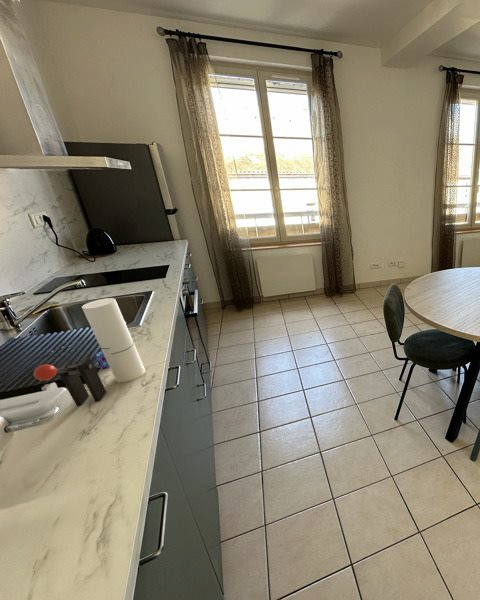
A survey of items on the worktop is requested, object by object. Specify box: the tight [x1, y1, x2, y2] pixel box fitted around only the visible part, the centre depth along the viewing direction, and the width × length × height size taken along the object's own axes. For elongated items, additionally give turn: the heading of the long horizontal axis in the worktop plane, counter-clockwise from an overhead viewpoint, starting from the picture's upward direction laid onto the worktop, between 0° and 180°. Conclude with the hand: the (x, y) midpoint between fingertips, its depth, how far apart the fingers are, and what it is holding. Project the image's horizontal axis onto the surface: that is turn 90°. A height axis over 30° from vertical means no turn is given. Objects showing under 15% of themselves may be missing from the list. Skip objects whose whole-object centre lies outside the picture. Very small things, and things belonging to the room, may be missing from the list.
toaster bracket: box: [58, 356, 107, 408], centre depth 87 cm, size 12×9×13 cm
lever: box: [33, 363, 81, 382], centre depth 80 cm, size 14×4×4 cm, turn 19°
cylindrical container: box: [81, 297, 146, 383], centre depth 95 cm, size 7×7×25 cm
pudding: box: [94, 350, 110, 370], centre depth 106 cm, size 12×12×5 cm
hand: (24, 391), depth 68 cm, fingers open, 8 cm apart
